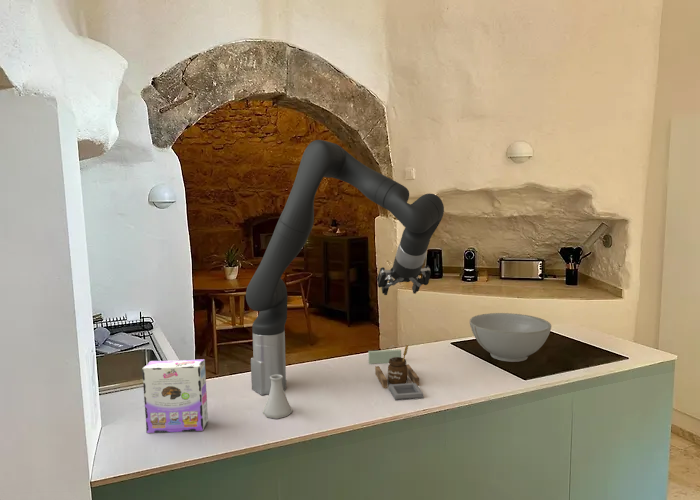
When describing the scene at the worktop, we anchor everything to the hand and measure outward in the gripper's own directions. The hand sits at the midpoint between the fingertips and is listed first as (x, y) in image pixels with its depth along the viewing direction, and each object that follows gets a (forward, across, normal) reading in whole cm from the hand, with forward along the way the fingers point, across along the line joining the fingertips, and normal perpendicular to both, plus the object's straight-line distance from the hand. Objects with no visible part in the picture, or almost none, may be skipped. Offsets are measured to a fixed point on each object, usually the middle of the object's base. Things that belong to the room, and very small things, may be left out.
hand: (399, 291), depth 145 cm
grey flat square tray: (+18, 0, +23) cm, 29 cm away
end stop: (+37, -1, +4) cm, 37 cm away
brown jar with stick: (+24, -1, +17) cm, 29 cm away
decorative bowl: (+36, -44, +6) cm, 57 cm away
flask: (+13, +36, +27) cm, 47 cm away
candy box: (+11, +60, +30) cm, 68 cm away
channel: (+25, -1, +15) cm, 29 cm away
